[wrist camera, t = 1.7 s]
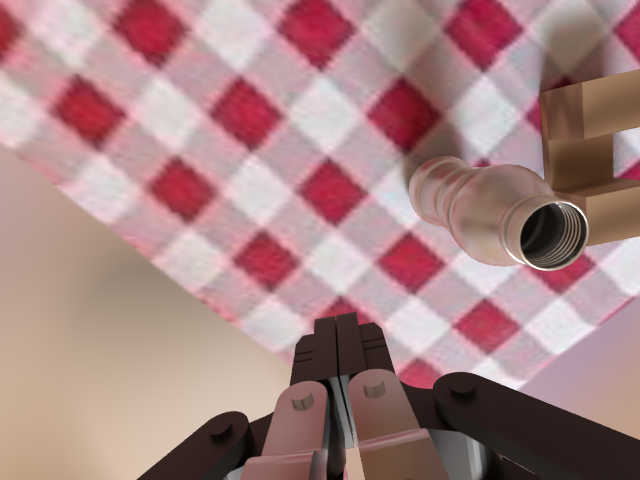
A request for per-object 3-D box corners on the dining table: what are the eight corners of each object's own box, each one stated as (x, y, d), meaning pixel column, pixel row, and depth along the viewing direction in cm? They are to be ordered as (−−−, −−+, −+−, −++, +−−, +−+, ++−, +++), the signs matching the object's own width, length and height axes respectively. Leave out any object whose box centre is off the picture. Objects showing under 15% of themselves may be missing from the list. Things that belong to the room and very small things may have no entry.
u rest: (539, 92, 35) (582, 82, 29) (603, 78, 34) (660, 64, 28) (548, 230, 38) (587, 246, 32) (606, 219, 38) (657, 232, 32)
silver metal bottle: (462, 148, 36) (620, 152, 17) (470, 213, 38) (620, 285, 18) (399, 162, 37) (480, 181, 17) (409, 225, 38) (493, 309, 19)
